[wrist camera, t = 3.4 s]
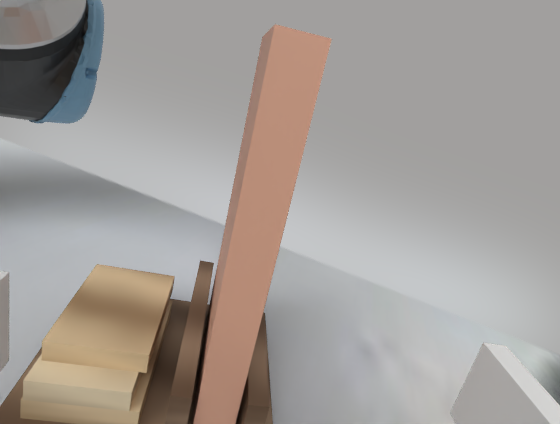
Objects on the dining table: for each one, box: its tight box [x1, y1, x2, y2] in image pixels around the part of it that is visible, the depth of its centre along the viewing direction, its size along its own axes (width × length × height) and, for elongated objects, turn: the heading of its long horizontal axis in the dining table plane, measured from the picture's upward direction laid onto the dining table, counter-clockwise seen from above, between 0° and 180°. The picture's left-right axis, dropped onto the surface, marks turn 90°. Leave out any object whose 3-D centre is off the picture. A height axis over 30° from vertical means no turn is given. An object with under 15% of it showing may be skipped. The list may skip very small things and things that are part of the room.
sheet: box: [192, 25, 331, 424], centre depth 23 cm, size 12×2×20 cm, turn 5°
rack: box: [0, 261, 273, 424], centre depth 25 cm, size 14×14×6 cm
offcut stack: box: [20, 264, 175, 424], centre depth 25 cm, size 10×6×4 cm, turn 5°
